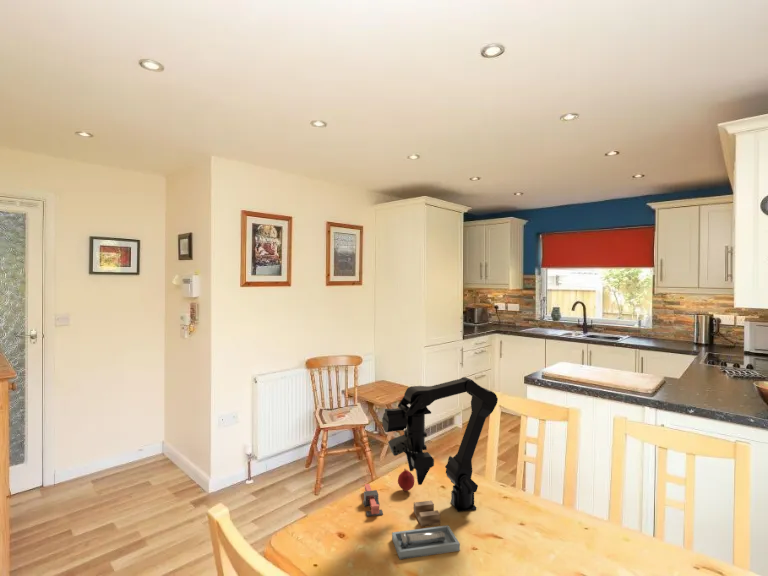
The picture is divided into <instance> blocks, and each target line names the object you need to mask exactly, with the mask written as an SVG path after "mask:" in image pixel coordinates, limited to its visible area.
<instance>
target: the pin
mask: <svg viewBox="0 0 768 576" xmlns="http://www.w3.org/2000/svg"><path fill="white" fill-rule="evenodd" d="M443 541H445V534H444V532H443V531H438V532H427V533H416V534H406V533H401V534H400V542H401V546H402V547H407V545H413V544H423V543H433V542H443Z"/></svg>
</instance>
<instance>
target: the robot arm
mask: <svg viewBox="0 0 768 576" xmlns="http://www.w3.org/2000/svg"><path fill="white" fill-rule="evenodd" d="M464 393H467V394H468V395H470V396H471V399H470V400H471V401H470V409H471V413H470V416H469V419H468V421H467V424H466V428H465V430H464V433H463V437H462V440H461V441H460V444H459V448H458V451H457V453H456V454H455V455H454V456H451V455H450V456H449V457H448V460H447V463H446V465H445V474H446V477H447V479H449V480H450V482H451V483H452V484H453V485H452V490H451V492H450V493H451V500H450V502H451V504H452V506H453V507H454V509H456V511H457V512H458V513H459V512H468V511H476V510H477V507H476V505H475V493H477V492H478V487H479V485H478V484H477V483H476V482H475V481H474V480H473V479H472V475H473V462H472V460H473V456H474V454H475V451H476V448H477V446H478V443H479V439H480V436H481V434H482V431H483V428H484V425H485V422H486V419H487V418H488V417H489V416H490V415H491V414H492V413H493V412H494V410H495V408H496V406H497V404H498V401H499V400H498V399H499V397H498V396H497V394H496V392H494V391H491V390H489V389H487V388H484V387H482V386H480V385H479V384H478V383H476V382H475V381H474V380H473V379H471V378H469V377H466V376H463V377H461V378H459V379H455V380H451V381H446V382H443V383H438V384H434V385H427V386H426V385H414V386H409V387H407V388H406V390H405V391H404V396H402V399H401V400H400V401H399V403H398V404H397V408H385V409H384V413H383V415H382V418H381V419H382V420H381V422H382V428H383V431H384V432H385V433H391V432H392V433H393V432H400V431H401V432H402V431H403V434H402V435H399V436H397V437H394V438H392V439H390V440H389V441H388V446H389V449H390V451H391V453H392V455H393V456H395V457H396V456H398V455H401V454H402V453H404V454H405V456H406V461H407V464H408V469H409V472H414V470H415V475H416V480H417V485H418V486H421V485H422V484H423V483H424V481H425V479H426V477H427V474H428V473H429V471H430V470H431V468H433V467H434V466H435V459H434V457H433V456H432V455H431V454H430V452H425V451H427V449H428V447H427V445H426V443H425V440H426V437H427V432H426V429H425V428H426V427H425V425H426V423H425V421H426V420H425V419H426V415H431V414H432V411H431V410H430V409H429V408H428V406H430V405H432V404H433V403H434V402H435V401H437V400H440V399H444V398H449V397H453V396H456V395H460V394H464ZM423 451H424V452H423Z"/></svg>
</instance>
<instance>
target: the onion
mask: <svg viewBox="0 0 768 576" xmlns="http://www.w3.org/2000/svg"><path fill="white" fill-rule="evenodd" d="M397 485H399V488H400V489H402V490H403V491H404V492H406V493H407V492H408V491H411V489H413V488H414V485H415V477H414V474H412V472H411V471H410V470H408V469H407V468H404V470H403V471H401V472H400V474H399V475H398V479H397Z"/></svg>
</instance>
